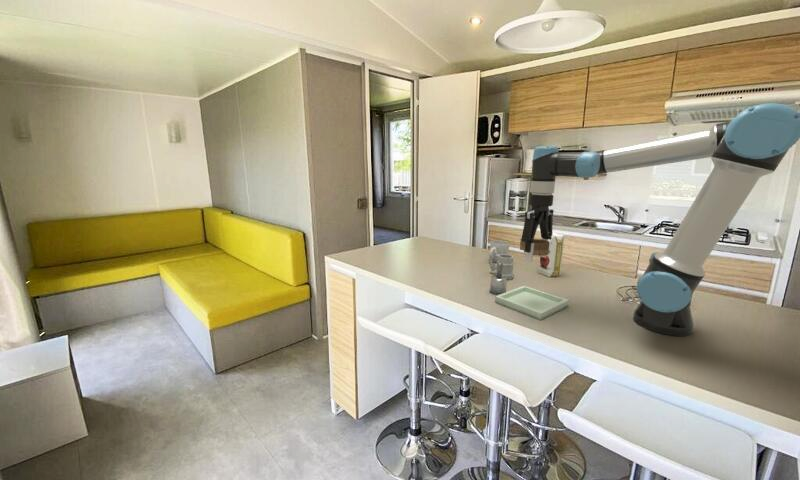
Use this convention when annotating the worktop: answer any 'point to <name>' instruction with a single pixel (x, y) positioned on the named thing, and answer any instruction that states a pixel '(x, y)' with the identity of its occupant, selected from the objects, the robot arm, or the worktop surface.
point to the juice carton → (553, 256)
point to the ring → (537, 247)
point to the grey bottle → (498, 282)
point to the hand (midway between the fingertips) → (535, 258)
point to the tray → (532, 302)
